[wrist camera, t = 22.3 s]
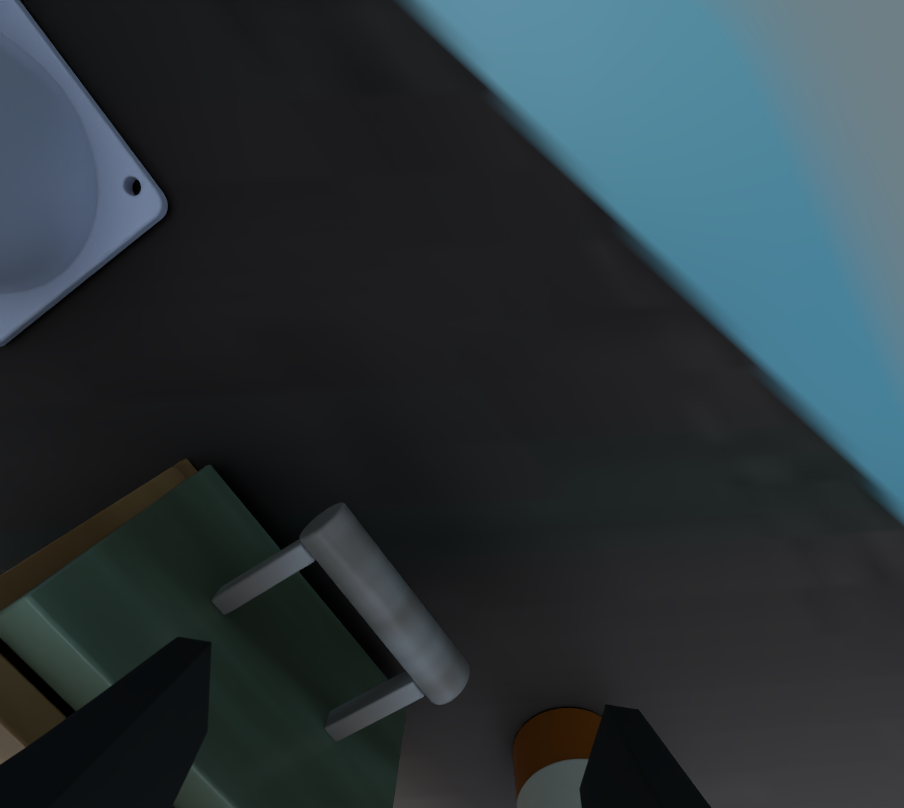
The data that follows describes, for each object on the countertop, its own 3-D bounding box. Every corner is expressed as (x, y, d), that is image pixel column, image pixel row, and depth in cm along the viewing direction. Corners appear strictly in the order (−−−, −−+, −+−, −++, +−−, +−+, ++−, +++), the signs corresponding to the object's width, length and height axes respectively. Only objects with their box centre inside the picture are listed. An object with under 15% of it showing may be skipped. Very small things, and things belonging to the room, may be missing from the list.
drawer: (318, 389, 15) (201, 476, 8) (511, 649, 17) (538, 880, 11) (-43, 633, 18) (-347, 844, 11) (163, 830, 20) (12, 1102, 13)
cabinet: (187, 457, 17) (-96, 635, 8) (395, 706, 19) (339, 1037, 11) (-70, 632, 19) (-497, 913, 10) (146, 836, 21) (-61, 1194, 13)
